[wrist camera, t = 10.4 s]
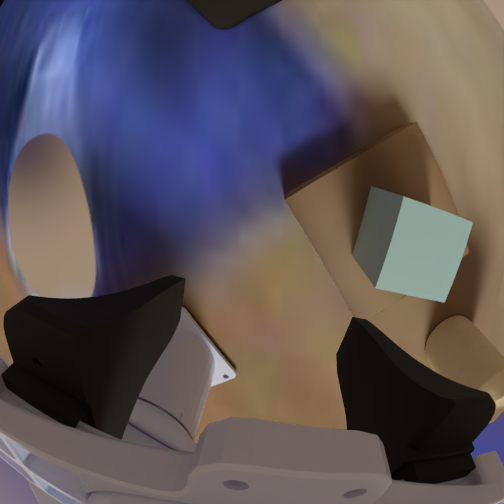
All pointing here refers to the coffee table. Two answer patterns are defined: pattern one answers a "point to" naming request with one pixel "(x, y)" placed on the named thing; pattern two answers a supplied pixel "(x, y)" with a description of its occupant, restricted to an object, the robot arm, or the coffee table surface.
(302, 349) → the coffee table surface
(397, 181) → the walnut base
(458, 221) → the painted block
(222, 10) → the phone
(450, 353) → the candle
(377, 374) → the robot arm
